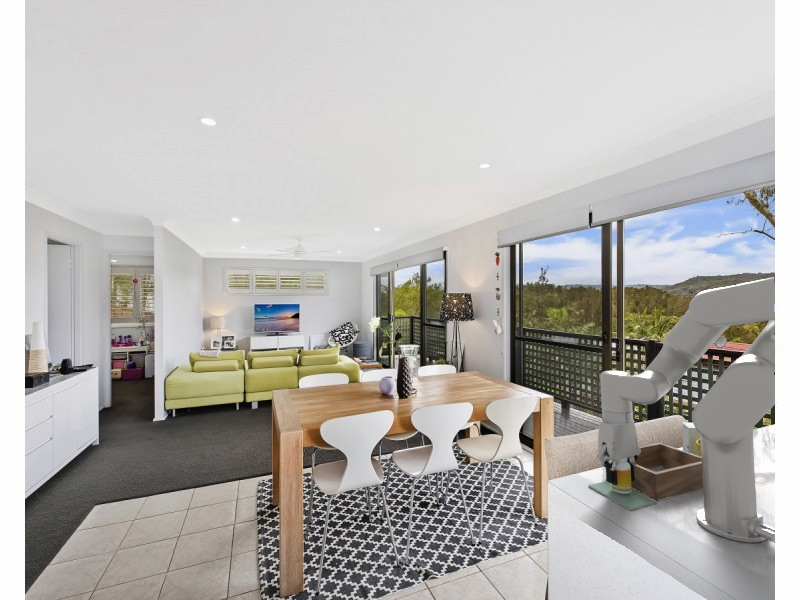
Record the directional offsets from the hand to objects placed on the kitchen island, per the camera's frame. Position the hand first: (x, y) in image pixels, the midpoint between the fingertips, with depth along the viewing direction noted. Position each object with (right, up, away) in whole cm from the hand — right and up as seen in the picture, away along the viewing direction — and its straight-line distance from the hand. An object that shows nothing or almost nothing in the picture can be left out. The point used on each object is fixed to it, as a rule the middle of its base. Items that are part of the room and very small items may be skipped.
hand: (620, 480), depth 107 cm
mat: (0, -4, 0) cm, 4 cm away
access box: (+16, -3, +7) cm, 18 cm away
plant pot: (+34, -3, +8) cm, 35 cm away
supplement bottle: (0, -3, 0) cm, 3 cm away
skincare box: (+35, -3, +19) cm, 40 cm away
